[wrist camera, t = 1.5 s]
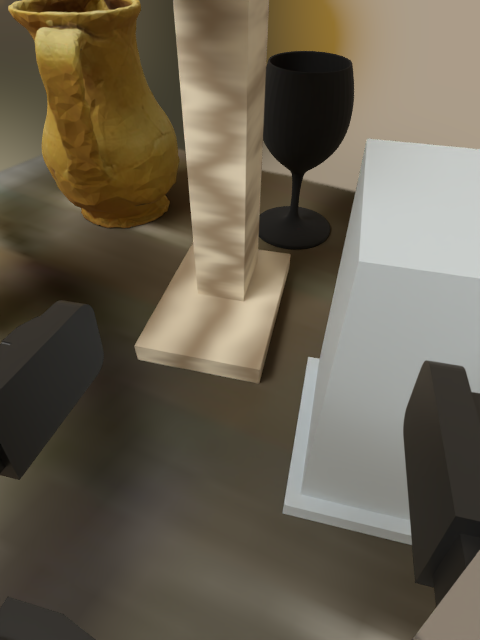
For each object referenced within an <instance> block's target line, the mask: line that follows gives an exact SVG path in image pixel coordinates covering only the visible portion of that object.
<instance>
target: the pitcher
mask: <svg viewBox="0 0 480 640" xmlns="http://www.w3.org/2000/svg"><path fill="white" fill-rule="evenodd" d="M8 9H9V12H10V13H11V15H12V16H13V17H14V19H15V20H16V21H17V22H19V23H20V24H21V25H22V26H24V27H25V28H26V29H27V30H28V31H29V33H30V34H31V36H32V37H33V39H34V41H35V50H36V58H37V63H38V67H39V72H40V75H41V78H42V81H43V83H44V86H45V89H46V93H47V100H48V108H47V117H46V121H45V126H44V130H43V138H42V154H43V158H44V161H45V163H46V165H47V167H48V169H49V171H50V173H51V174H52V176H53V178H54V179H55V181H56V183H57V186H58V188H59V189H60V190H61V191H62V193H63V194H64V195H65V196H66V197H67V198H68V199H69V201H71V202H72V203H73V204H74V205H75V206H78V207H81V209H82V212H81V213H82V214H83V216H84V218H86V220H89V221H90V222H93V223H94V224H97V225H101V226H102V227H103V226H104V227H107V228H112V227H121V228H126V227H127V228H130V227H131V226H132V227H133V226H137V225H142V224H145V223H148V222H150V221H153V220H154V219H157V218H159V217H160V216H162V215H163V214H164V212H167V210H168V206H169V203H170V201H169V200H168V198H167V197H166V195H165V194H166V193H167V192H168V191H169V190H170V188H171V187H172V186H173V184H175V183H176V176H177V170H178V165H179V157H178V147H177V140H176V135H175V132H174V129H173V127H172V125H171V123H170V121H169V119H168V117H167V115H166V114H165V113H164V111H163V110H162V109H161V108H160V106H159V105H158V103H157V101H156V100H155V98H154V97H153V94H152V92H151V91H150V89H149V87H148V84H147V82H146V79H145V76H144V73H143V70H142V67H141V64H140V58H139V53H138V49H137V43H136V34H135V32H136V20H137V17H138V15H139V13H140V11H141V4H140V2H139V0H22V1H16V2H14V3H13V4H12V5H10V6H9V8H8Z"/></svg>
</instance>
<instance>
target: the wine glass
mask: <svg viewBox="0 0 480 640" xmlns="http://www.w3.org/2000/svg"><path fill="white" fill-rule="evenodd" d="M353 102H354V79H353V68H352V62H351V61H350V60H349V59H347V58H345V57H343V56H339V55H336V54H331V53H325V52H315V51H294V52H285V53H280V54H277V55H274V56H272V57H270V58H269V60H268V63H267V66H266V78H265V101H264V124H263V140H264V143H265V145H266V146H267V148H268V149H269V151H270V152H271V154H272V155H273V156H274V157H275V158H276V159H277V160H278V161H279V162H280V163H281V164H282V165H284V166H285V167H286V168H287V169H289V170H290V171H291V173H292V199H291V206H284V207H277V208H272V209H269V210H267V211H265V212H263V213H262V214H260V216H259V237H260V238H261V239H262V240H264V241H265V242H267V243H269V244H271V245H274V246H277V247H281V248H286V249H306V248H311V247H314V246H317V245H319V244H321V243H322V242H324V241H325V240H326V239H327V238H328V236H329V233H330V225H329V223H328V221H327V220H326V219H325V218H324V217H323V216H322V215H320V214H319V213H317V212H315V211H312V210H309V209H306V208H302V207H298V203H299V194H300V188H301V183H302V179H303V176H304V174H305V172H307V171H308V170H310V169H312V168H314V167H316V166H318V165H319V164H321V163H322V162H324V161H325V160H326V159H327V158H328V157H329V156H331V155H332V154H333V153H334V152H335V150H336V149H337V148H338V147H339V145H340V144H341V142H342V140H343V139H344V137H345V134H346V133H347V130H348V127H349V124H350V120H351V115H352V109H353Z"/></svg>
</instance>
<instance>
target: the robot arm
mask: <svg viewBox="0 0 480 640" xmlns="http://www.w3.org/2000/svg"><path fill="white" fill-rule="evenodd" d="M103 356H104V353H103V347H102V343H101V339H100V335H99V331H98V326H97V322H96V318H95V314H94V310H93V308H92V307H91V306H90V305H88V304H81V303H75V302H69V301H63V300H60V301H57V302H55V303H54V304H53V305H52V306H51V307H50V308H49V309H48V310H47V311H46V312H44V313H43V314H42V315H41V316H40V317H38V316H37V317H35V318H34V319H32V320H30V321H28V322H26V323H24V324H22V325H20V326H18V327H17V328H16V329H14V330H13V331H12V332H11V333H10V334H9V335H8V336H7V337H6V338H4V339H3V340H2V343H1V344H0V475H2V476H6V477H10V478H14V479H18V480H20V479H21V477H22V476H23V475H24V473H25V472H26V471H27V469H28V468H29V467H30V465H31V464H32V462H33V461H34V460H35V458H36V457H37V456H38V454H39V453H40V452H41V450H42V449H43V448H44V446H45V445H46V444H47V442H48V441H49V440H50V438H51V437H52V436H53V434H54V433H55V431H56V430H57V429H58V427H59V426H60V425H61V423H62V422H63V421H64V419H65V418H66V417H67V415H68V414H69V413H70V411H71V410H72V409H73V407H74V406H75V405H76V403H77V402H78V400H79V399H80V398H81V396H82V395H83V394H84V392H85V391H86V390H87V388H88V387H89V386H90V384H91V383H92V382H93V380H94V379H95V378H96V376H97V375H98V373H99V371H100V369H101V367H102V363H103ZM403 438H404V451H405V463H406V476H407V488H408V500H409V513H410V525H411V538H412V550H413V562H414V575H415V583H418V584H422V585H426V586H430V587H434V591H435V600H436V609H435V610H434V611H433V613H432V614H431V615H430V617H429V618H428V619H427V621H426V622H425V623H424V625H423V626H422V627H421V628H420V630H419V631H418V632H417V634H416V635H415V636H414V637H413V639H412V640H480V393H475V392H471V388H470V385H469V381H468V377H467V373H466V370H465V368H464V367H463V366H459V365H453V364H447V363H441V362H435V361H428V360H426V361H424V363H423V364H422V367H421V369H420V372H419V375H418V377H417V380H416V383H415V386H414V388H413V391H412V394H411V396H410V399H409V402H408V405H407V408H406V411H405V416H404V424H403ZM0 640H95V639H94V638H93V637H92V636H90V635H89V634H88V633H86V632H85V631H84V630H83V629H81V628H80V627H79V626H78V625H76V624H75V623H74V622H72V621H71V620H70V619H69V618H67V617H66V616H65V615H64V614H61V613H58V612H55V611H52V610H49V609H45V608H42V607H39V606H36V605H33V604H30V603H26V602H23V601H20V600H17V599H14V598H11V597H7V598H6V600H5V602H4V603H3V605H2V606H1V608H0Z"/></svg>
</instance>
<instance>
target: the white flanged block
mask: <svg viewBox="0 0 480 640" xmlns="http://www.w3.org/2000/svg"><path fill="white" fill-rule="evenodd" d="M426 360H428V361H435V362H441V363H447V364H453V365H459V366H463V367H464V368H465V370H466V373H467V377H468V381H469V385H470V388H471V392H475V393H480V149H471V148H461V147H450V146H440V145H430V144H419V143H408V142H398V141H388V140H378V139H367V141H366V146H365V150H364V155H363V160H362V164H361V169H360V174H359V178H358V183H357V188H356V192H355V197H354V202H353V206H352V211H351V216H350V220H349V225H348V230H347V234H346V239H345V244H344V248H343V253H342V258H341V262H340V267H339V272H338V276H337V281H336V286H335V290H334V295H333V300H332V304H331V309H330V314H329V318H328V323H327V328H326V332H325V337H324V342H323V346H322V351H321V356H320V359H318V358H312V357H308V362H307V367H306V373H305V379H304V385H303V392H302V398H301V404H300V410H299V416H298V422H297V428H296V434H295V440H294V446H293V452H292V458H291V464H290V470H289V476H288V482H287V488H286V494H285V500H284V507H283V514H287V515H291V516H296V517H300V518H304V519H308V520H312V521H316V522H320V523H324V524H328V525H332V526H336V527H340V528H344V529H348V530H352V531H356V532H360V533H364V534H368V535H373V536H377V537H381V538H385V539H389V540H393V541H397V542H401V543H405V544H409V545H412V538H411V525H410V513H409V500H408V488H407V476H406V463H405V451H404V438H403V424H404V416H405V411H406V408H407V405H408V402H409V399H410V396H411V394H412V391H413V388H414V386H415V383H416V380H417V377H418V375H419V372H420V369H421V367H422V364H423V363H424V361H426Z"/></svg>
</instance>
